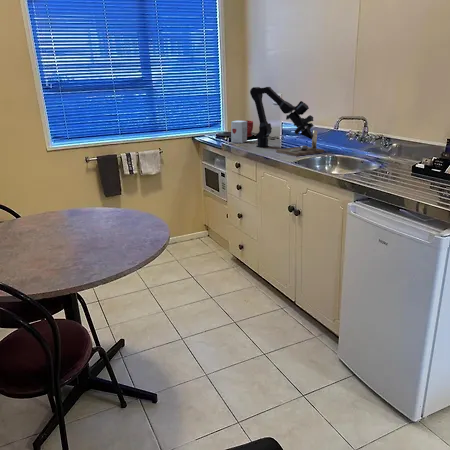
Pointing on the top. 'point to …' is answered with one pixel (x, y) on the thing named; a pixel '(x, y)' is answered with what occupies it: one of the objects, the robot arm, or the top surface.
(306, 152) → the brown flat board
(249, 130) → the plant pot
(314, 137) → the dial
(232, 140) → the supplement box
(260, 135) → the robot arm
